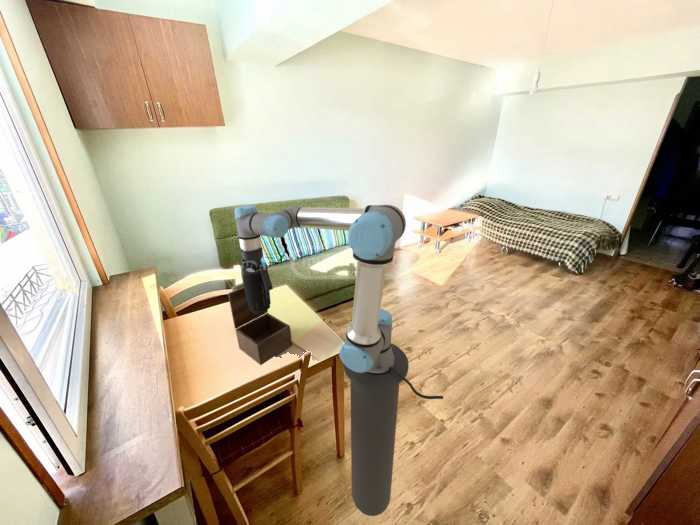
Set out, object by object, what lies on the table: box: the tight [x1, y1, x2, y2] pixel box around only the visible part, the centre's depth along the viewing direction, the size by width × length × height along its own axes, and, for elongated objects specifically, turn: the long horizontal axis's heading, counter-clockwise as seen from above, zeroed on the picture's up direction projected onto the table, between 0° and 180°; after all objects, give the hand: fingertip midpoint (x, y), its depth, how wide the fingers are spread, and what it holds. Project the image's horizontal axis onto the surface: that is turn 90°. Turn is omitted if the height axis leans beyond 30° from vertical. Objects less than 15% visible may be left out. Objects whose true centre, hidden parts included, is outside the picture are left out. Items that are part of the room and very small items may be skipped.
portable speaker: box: [241, 265, 271, 315], centre depth 108 cm, size 9×9×20 cm
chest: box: [234, 312, 293, 366], centre depth 119 cm, size 16×16×10 cm
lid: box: [227, 282, 269, 330], centre depth 120 cm, size 17×16×8 cm
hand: (259, 300), depth 111 cm, fingers closed on portable speaker, 9 cm apart
